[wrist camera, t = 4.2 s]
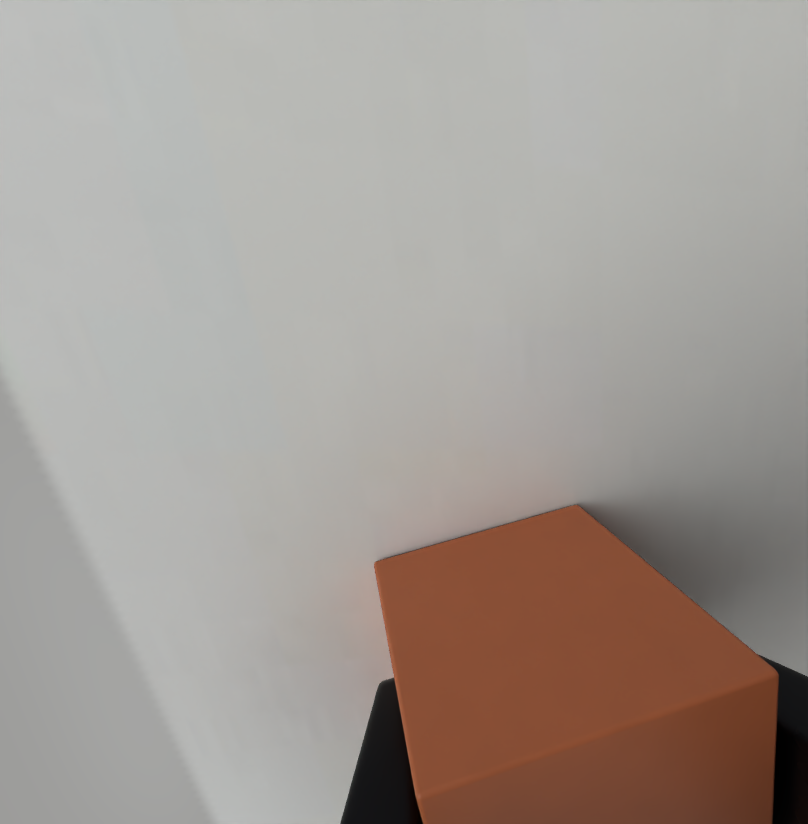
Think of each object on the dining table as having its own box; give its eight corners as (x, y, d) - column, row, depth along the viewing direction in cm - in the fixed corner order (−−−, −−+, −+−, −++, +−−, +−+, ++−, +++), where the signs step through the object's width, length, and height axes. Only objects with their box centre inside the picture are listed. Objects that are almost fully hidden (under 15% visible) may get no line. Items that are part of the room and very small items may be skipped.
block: (373, 561, 8) (415, 798, 4) (577, 502, 8) (782, 672, 5) (416, 724, 9) (481, 1029, 5) (594, 665, 10) (770, 909, 6)
